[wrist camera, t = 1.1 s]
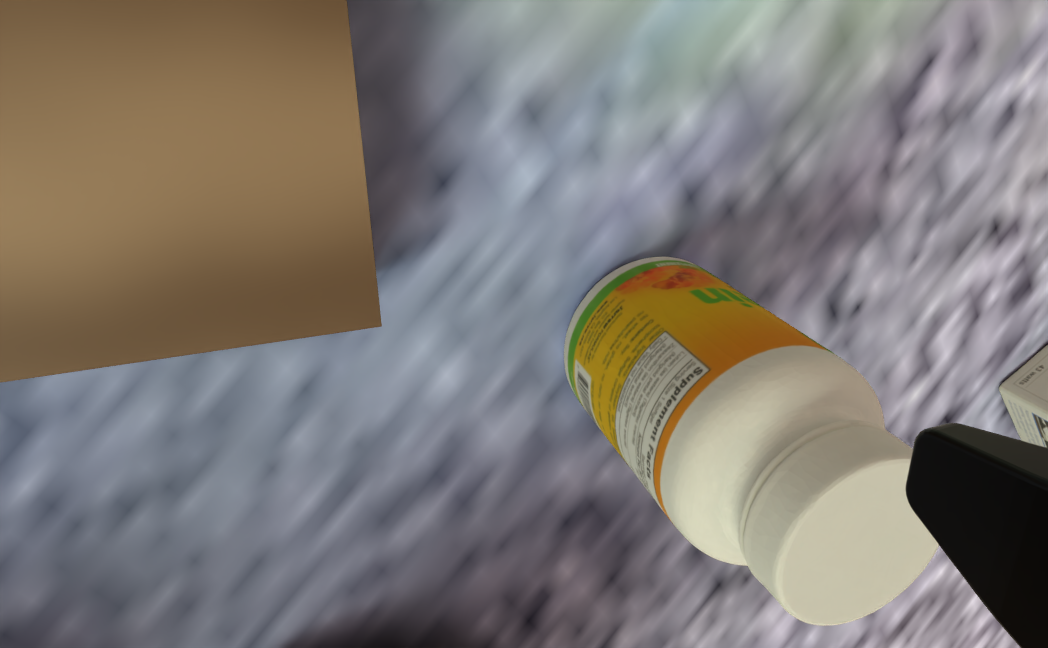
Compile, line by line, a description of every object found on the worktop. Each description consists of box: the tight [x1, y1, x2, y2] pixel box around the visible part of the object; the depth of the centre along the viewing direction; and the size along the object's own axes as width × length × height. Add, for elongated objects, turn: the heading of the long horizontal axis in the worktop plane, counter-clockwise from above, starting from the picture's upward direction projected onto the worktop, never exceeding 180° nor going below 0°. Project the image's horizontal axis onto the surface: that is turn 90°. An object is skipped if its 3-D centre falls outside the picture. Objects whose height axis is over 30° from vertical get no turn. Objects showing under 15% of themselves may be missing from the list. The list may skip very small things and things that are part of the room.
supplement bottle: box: [564, 257, 939, 626], centre depth 19 cm, size 5×5×10 cm
